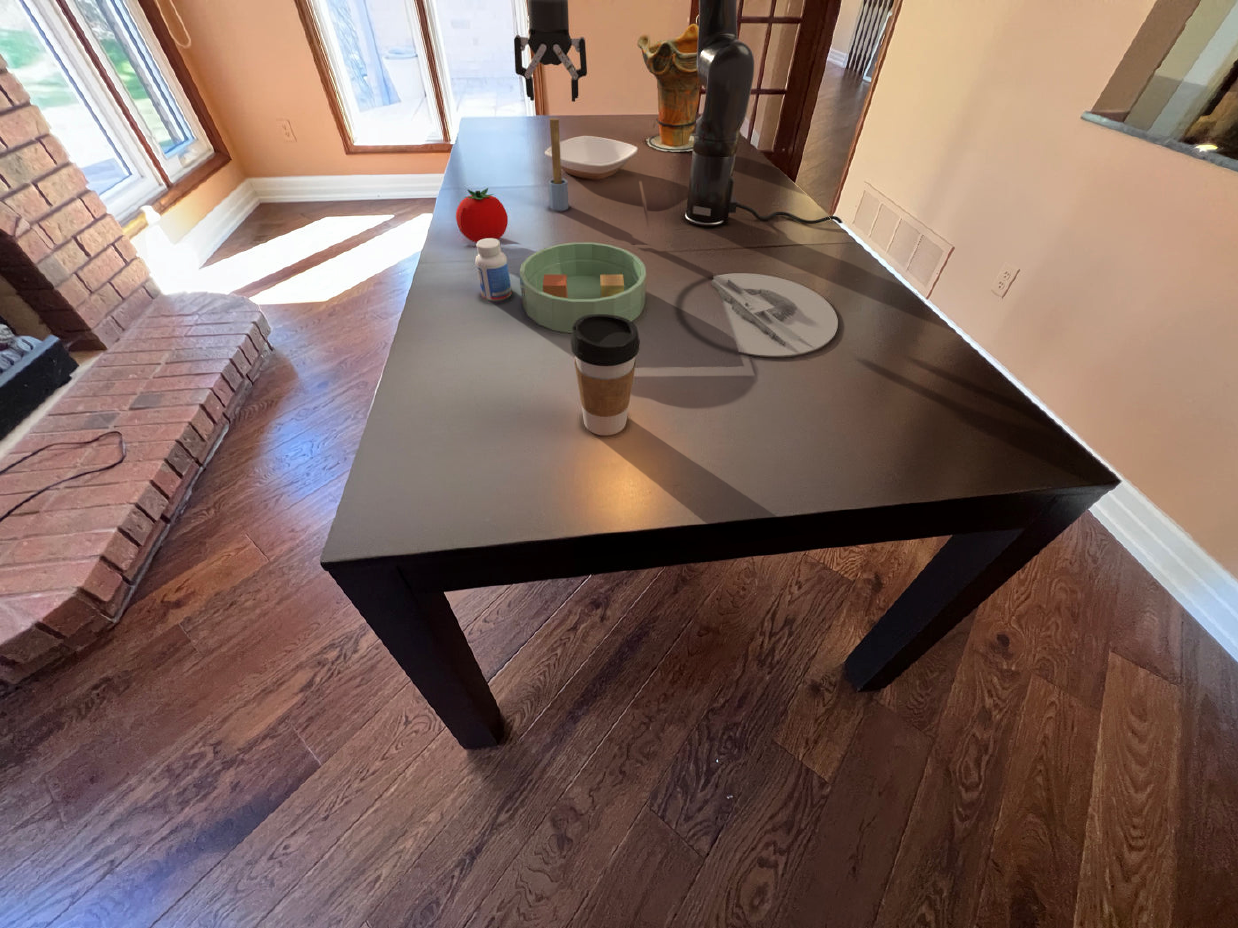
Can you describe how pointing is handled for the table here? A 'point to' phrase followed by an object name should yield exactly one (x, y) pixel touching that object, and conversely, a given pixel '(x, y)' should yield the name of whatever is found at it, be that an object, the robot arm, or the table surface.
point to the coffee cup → (604, 369)
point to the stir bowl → (581, 283)
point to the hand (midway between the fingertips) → (553, 100)
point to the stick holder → (558, 195)
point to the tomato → (481, 216)
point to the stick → (556, 150)
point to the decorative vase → (674, 88)
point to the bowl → (593, 156)
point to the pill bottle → (492, 270)
